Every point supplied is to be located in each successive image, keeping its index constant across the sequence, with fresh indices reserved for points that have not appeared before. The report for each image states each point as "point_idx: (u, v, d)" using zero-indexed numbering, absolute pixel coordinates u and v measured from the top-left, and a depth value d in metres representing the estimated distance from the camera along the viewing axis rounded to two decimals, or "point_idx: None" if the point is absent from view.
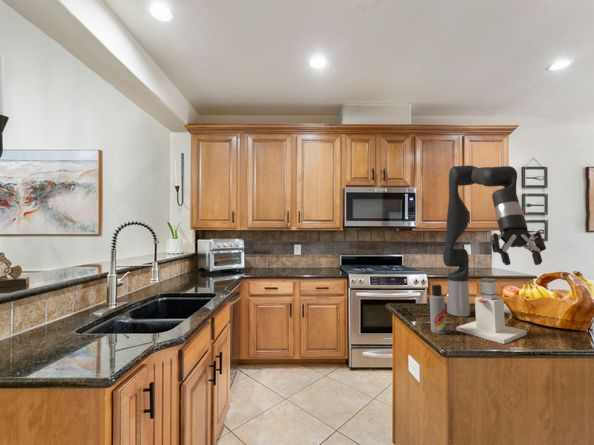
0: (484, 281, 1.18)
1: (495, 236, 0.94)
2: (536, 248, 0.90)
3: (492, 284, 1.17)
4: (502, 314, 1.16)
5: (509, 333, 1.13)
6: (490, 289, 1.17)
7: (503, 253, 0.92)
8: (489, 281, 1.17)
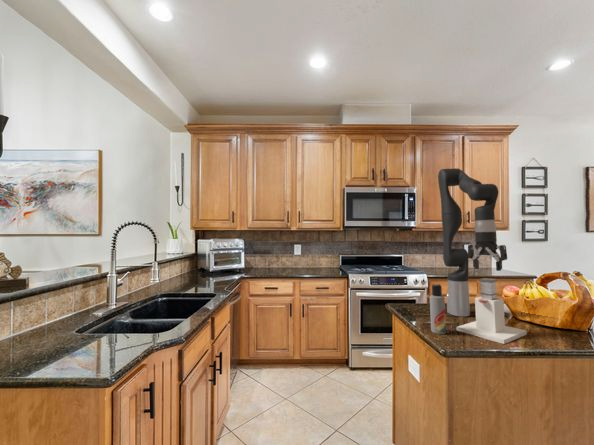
0: (484, 281, 1.18)
1: (469, 247, 1.25)
2: (496, 258, 1.15)
3: (492, 284, 1.17)
4: (502, 314, 1.16)
5: (509, 333, 1.13)
6: (490, 289, 1.17)
7: (473, 260, 1.24)
8: (489, 281, 1.17)
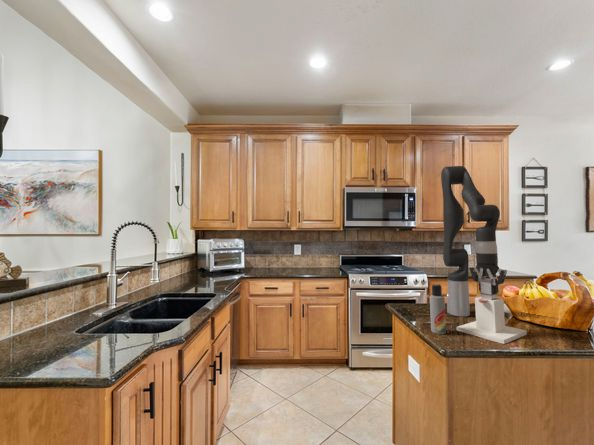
0: (484, 281, 1.18)
1: (471, 270, 1.24)
2: (493, 282, 1.16)
3: (492, 284, 1.17)
4: (502, 314, 1.16)
5: (509, 333, 1.13)
6: (490, 289, 1.17)
7: (479, 283, 1.22)
8: (489, 281, 1.17)
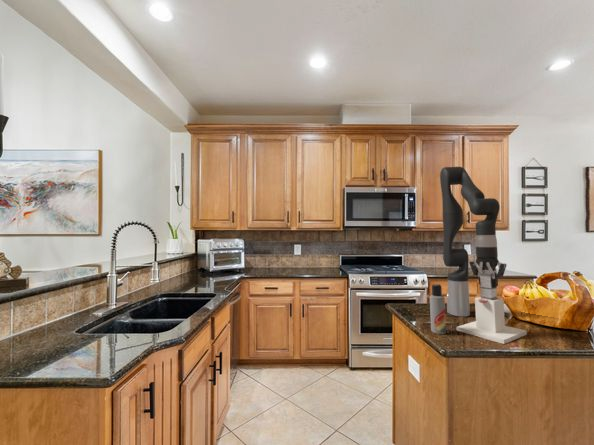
0: (484, 275, 1.18)
1: (470, 264, 1.24)
2: (493, 276, 1.16)
3: (492, 278, 1.17)
4: (502, 314, 1.16)
5: (509, 333, 1.13)
6: (489, 282, 1.17)
7: (479, 277, 1.22)
8: (489, 275, 1.17)
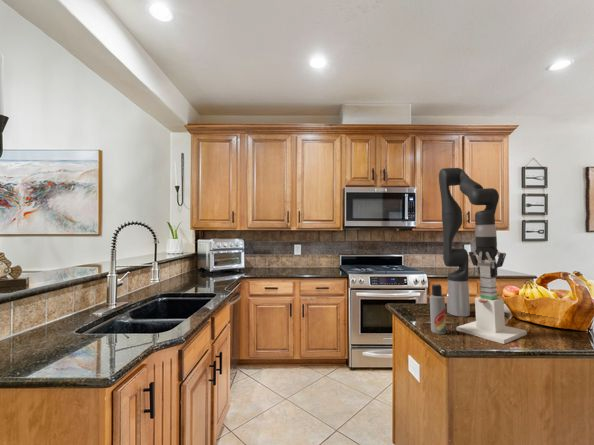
0: (483, 265, 1.19)
1: (470, 254, 1.24)
2: (492, 265, 1.17)
3: (491, 267, 1.17)
4: (502, 314, 1.16)
5: (509, 333, 1.13)
6: (489, 272, 1.17)
7: (478, 267, 1.22)
8: (488, 264, 1.17)
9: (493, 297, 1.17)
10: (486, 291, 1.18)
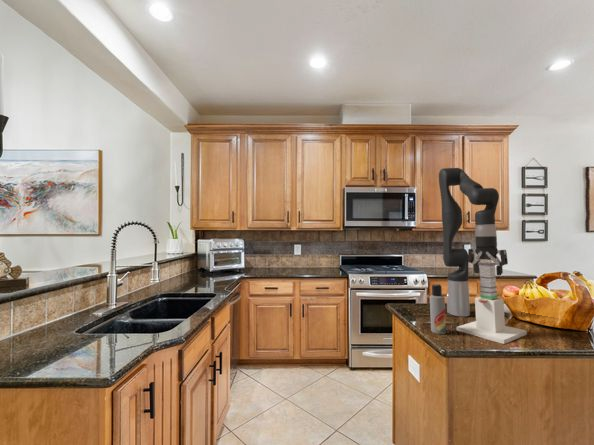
0: (483, 264, 1.19)
1: (469, 251, 1.25)
2: (497, 263, 1.15)
3: (491, 267, 1.17)
4: (502, 314, 1.16)
5: (509, 333, 1.13)
6: (489, 272, 1.17)
7: (473, 264, 1.24)
8: (488, 264, 1.17)
9: (493, 297, 1.17)
10: (486, 291, 1.18)
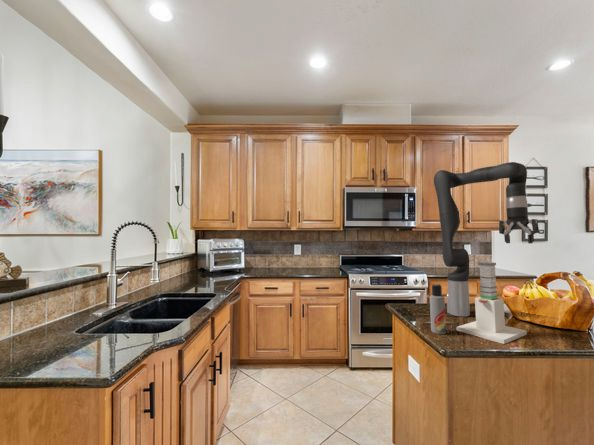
0: (483, 264, 1.19)
1: (500, 223, 1.32)
2: (528, 232, 1.22)
3: (491, 267, 1.17)
4: (502, 314, 1.16)
5: (509, 333, 1.13)
6: (489, 272, 1.17)
7: (504, 235, 1.31)
8: (488, 264, 1.17)
9: (493, 297, 1.17)
10: (486, 291, 1.18)
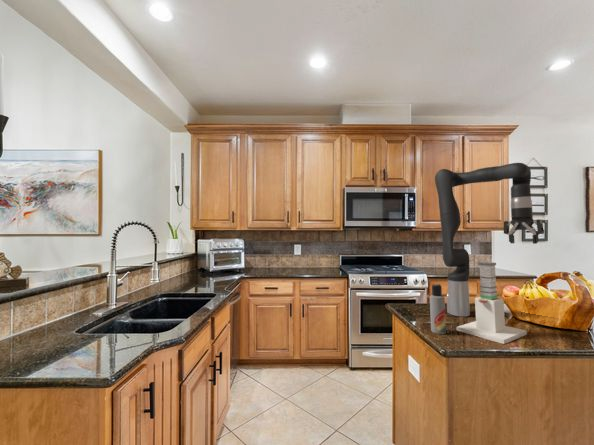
0: (483, 264, 1.19)
1: (504, 223, 1.33)
2: (533, 232, 1.23)
3: (491, 267, 1.17)
4: (502, 314, 1.16)
5: (509, 333, 1.13)
6: (489, 272, 1.17)
7: (509, 235, 1.32)
8: (488, 264, 1.17)
9: (493, 297, 1.17)
10: (486, 291, 1.18)
